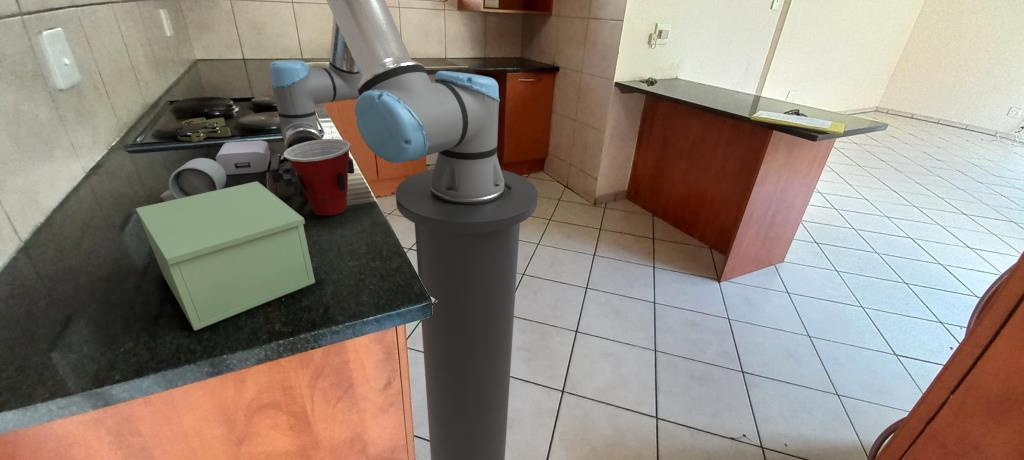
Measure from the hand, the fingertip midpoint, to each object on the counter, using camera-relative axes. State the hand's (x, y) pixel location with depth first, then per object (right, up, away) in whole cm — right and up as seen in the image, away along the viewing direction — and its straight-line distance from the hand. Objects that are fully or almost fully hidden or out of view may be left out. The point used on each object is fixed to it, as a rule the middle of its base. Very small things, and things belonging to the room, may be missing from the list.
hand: (319, 185), depth 71 cm
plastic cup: (-2, -4, +7) cm, 8 cm away
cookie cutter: (-54, +20, +48) cm, 75 cm away
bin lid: (-6, -6, -16) cm, 18 cm away
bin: (-6, -15, -11) cm, 19 cm away
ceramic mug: (-28, -2, +11) cm, 30 cm away
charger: (-30, +8, +29) cm, 43 cm away
